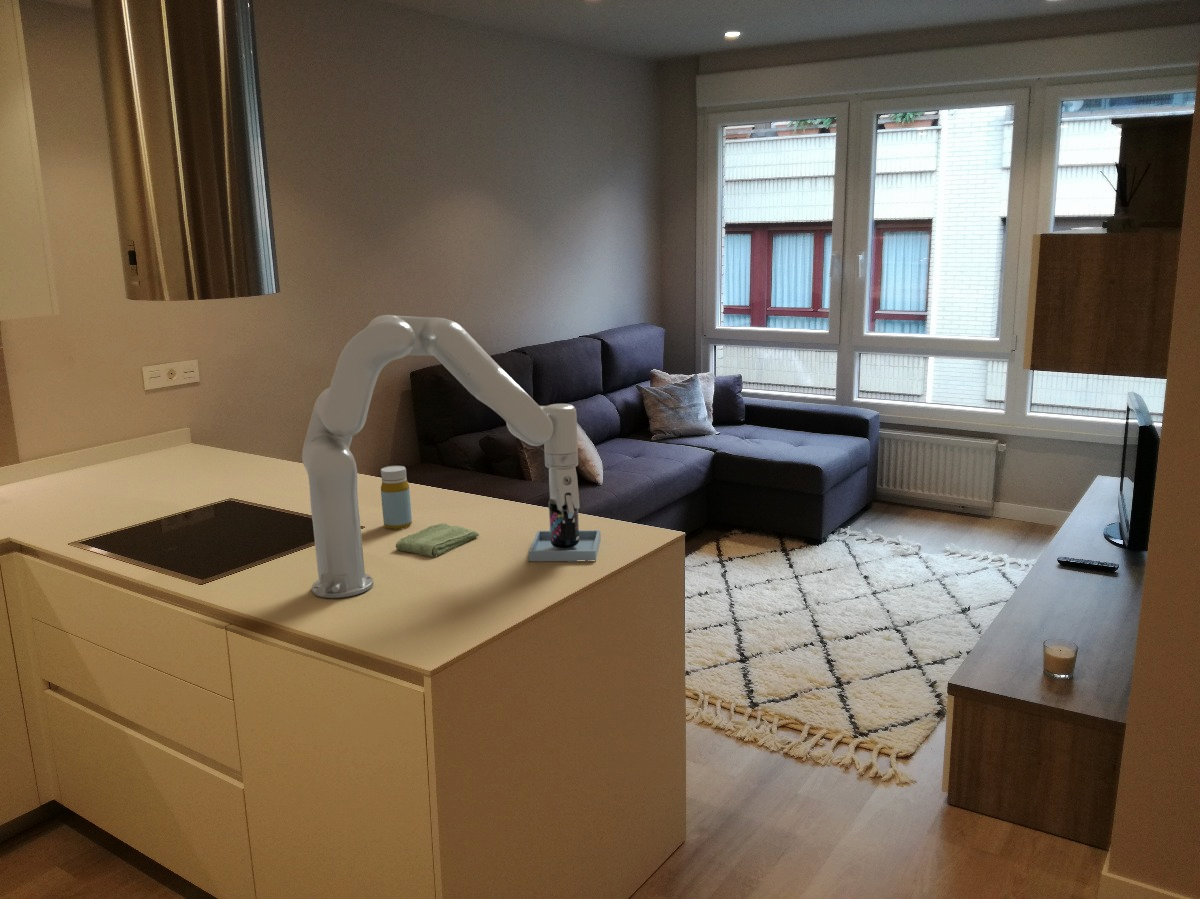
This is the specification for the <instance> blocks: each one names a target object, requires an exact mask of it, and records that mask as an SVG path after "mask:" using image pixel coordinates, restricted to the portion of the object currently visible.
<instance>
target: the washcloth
mask: <svg viewBox="0 0 1200 899" xmlns="http://www.w3.org/2000/svg"><path fill="white" fill-rule="evenodd" d="M479 536H480V534H479V532H477V531H474V529H468V528H465V527H462V526H460V525H453V526H452V525H450V524H448V523H444V522H442V523H438V524H433V525H431V526H428V527H426V528H424V529H421V530H419V531H418V532H416V533H411V534H408V535H406V536H405V537H402V538H400V540H398V541H396V544H395V549H396V550H397V551H399V550H400V552H405V551H406V553H409V552H410V553H409V554H417V555H420V556H424V557H428V556H429V558H435V557H434V556H436V555H438V556H441V555H442V553H443V554H445V553H444V552H446V551H448V550H449V551H452V550H453V549H452V548H454V549H456V548H458V547H460V546H461V545H463V544H465V543H467V541H468V542H469V541H471V540H472V539H473V538H474V539H476V538H477V537H479ZM475 537H476V538H475ZM474 539H473V540H474ZM459 545H460V546H459ZM455 547H456V548H455ZM451 549H452V550H451ZM449 551H448V552H449ZM446 553H447V552H446ZM436 557H437V556H436Z"/></svg>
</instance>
